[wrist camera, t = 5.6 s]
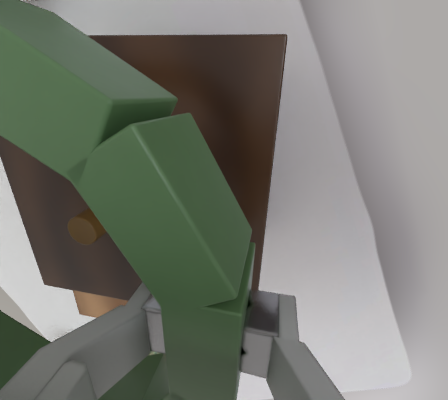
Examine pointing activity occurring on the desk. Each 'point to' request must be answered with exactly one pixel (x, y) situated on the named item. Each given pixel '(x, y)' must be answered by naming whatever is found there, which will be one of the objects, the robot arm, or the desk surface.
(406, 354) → the desk surface
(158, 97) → the ring
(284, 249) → the desk surface
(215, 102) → the peg plinth
